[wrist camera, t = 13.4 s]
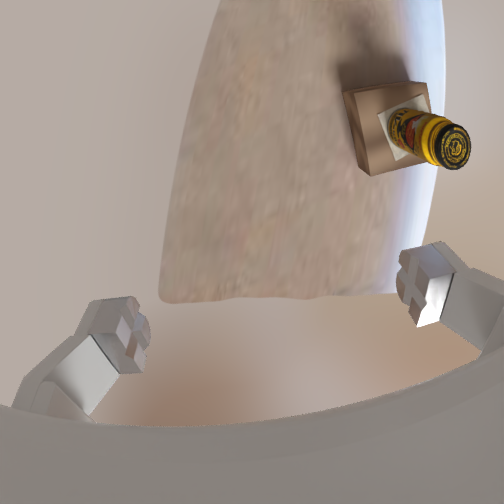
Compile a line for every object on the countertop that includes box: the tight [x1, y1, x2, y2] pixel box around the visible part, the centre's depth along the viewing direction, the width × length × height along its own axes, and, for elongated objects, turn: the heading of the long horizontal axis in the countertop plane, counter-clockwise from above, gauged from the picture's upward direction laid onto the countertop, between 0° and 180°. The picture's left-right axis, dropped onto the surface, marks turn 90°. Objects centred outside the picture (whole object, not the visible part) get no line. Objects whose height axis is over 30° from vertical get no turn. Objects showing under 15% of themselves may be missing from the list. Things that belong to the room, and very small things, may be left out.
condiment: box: [378, 94, 471, 170], centre depth 29 cm, size 7×8×12 cm
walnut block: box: [342, 81, 432, 176], centre depth 37 cm, size 12×12×5 cm
